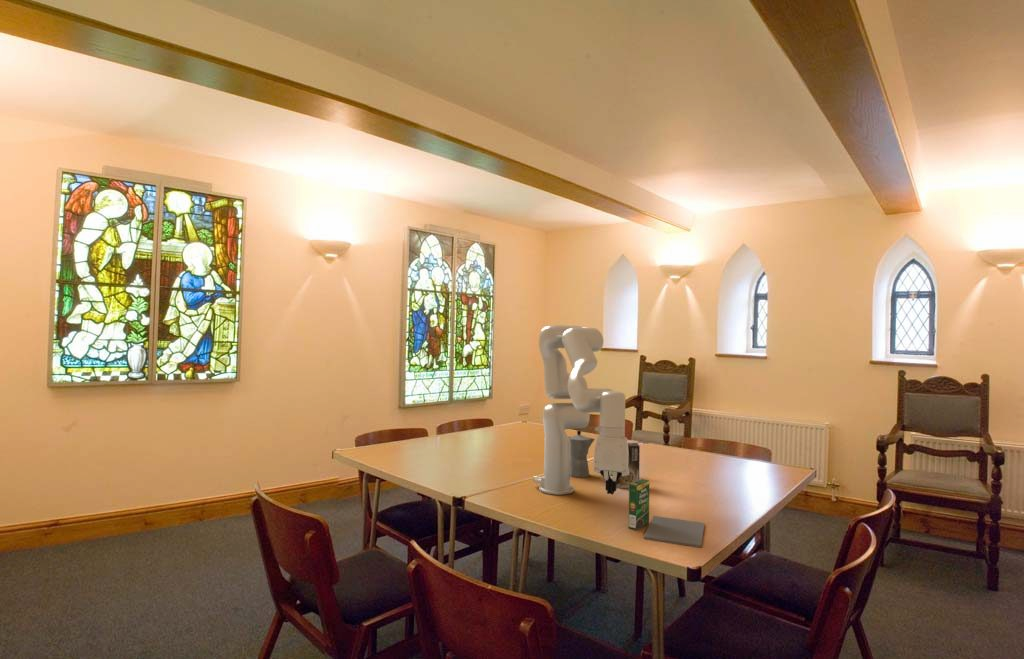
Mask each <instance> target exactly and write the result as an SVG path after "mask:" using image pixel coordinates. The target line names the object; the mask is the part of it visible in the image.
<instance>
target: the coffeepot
mask: <svg viewBox="0 0 1024 659" xmlns="http://www.w3.org/2000/svg"><path fill="white" fill-rule="evenodd" d="M576 433H577V435H572V436H571V435H570V436H569V435H568V437H569V439H570V443H571V452H570V478H571V477H572V478H579V479H580V478H583V479H584V478H588V477H589V476H590V470H589V469H590V468H589V462H588V454H589V448H590V447H591V445H592V444H593V443H594V441H596V438H593V437H590V436H589V437H588V436H584V435H581V434H582V430H577V431H576Z"/></svg>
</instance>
